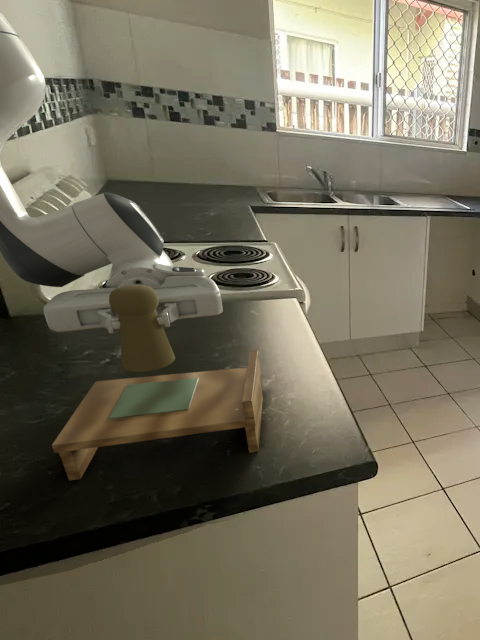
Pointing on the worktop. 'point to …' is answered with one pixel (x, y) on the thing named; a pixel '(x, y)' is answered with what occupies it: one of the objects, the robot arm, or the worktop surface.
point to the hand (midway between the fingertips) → (139, 324)
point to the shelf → (162, 411)
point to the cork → (140, 329)
